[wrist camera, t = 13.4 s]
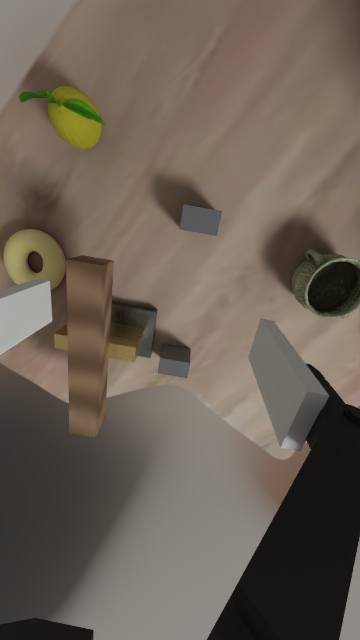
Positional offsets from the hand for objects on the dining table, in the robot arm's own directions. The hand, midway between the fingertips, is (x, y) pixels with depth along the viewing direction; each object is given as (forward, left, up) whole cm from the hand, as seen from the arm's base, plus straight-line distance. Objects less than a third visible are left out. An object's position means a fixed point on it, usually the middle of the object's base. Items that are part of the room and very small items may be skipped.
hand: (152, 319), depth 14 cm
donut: (+3, -22, -25) cm, 34 cm away
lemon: (-15, -15, -25) cm, 33 cm away
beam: (+13, -10, -16) cm, 23 cm away
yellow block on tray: (+13, -10, -25) cm, 29 cm away
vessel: (-1, +22, -25) cm, 33 cm away
